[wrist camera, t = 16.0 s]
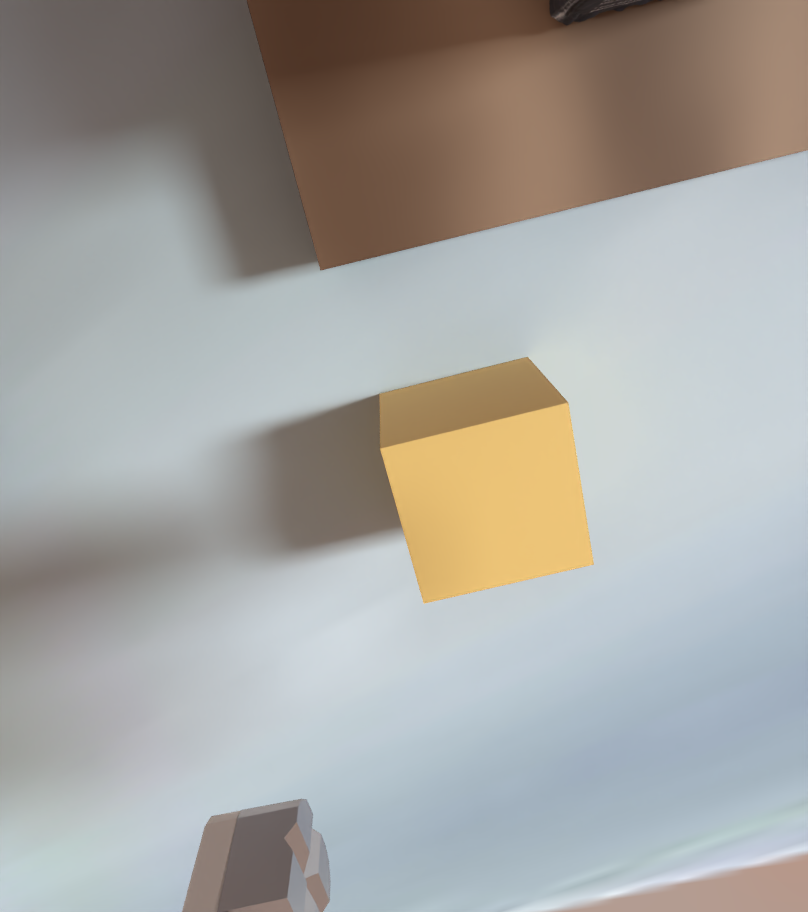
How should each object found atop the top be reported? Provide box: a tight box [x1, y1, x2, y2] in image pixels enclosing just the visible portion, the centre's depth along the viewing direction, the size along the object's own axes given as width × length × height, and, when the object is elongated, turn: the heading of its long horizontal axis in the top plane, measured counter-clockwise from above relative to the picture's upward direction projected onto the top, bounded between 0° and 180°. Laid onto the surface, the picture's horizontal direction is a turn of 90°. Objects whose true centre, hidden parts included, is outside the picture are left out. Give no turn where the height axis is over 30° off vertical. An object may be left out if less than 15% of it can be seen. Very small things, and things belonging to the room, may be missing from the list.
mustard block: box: [379, 357, 594, 603], centre depth 20 cm, size 5×5×5 cm
